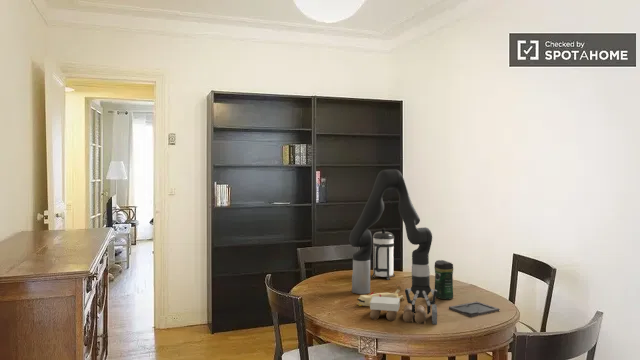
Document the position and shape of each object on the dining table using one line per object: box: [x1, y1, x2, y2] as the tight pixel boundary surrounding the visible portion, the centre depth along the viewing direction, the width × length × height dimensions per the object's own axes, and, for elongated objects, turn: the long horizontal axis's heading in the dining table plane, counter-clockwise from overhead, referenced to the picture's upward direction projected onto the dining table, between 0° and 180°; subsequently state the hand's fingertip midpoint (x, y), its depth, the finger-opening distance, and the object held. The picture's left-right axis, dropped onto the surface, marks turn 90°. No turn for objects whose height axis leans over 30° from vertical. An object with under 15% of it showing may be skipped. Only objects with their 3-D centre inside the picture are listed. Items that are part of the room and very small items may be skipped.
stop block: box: [431, 303, 438, 325], centre depth 191 cm, size 2×12×5 cm, turn 166°
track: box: [369, 304, 427, 325], centre depth 195 cm, size 23×12×4 cm, turn 76°
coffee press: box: [371, 227, 396, 281], centre depth 268 cm, size 17×16×30 cm
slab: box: [369, 296, 401, 312], centre depth 196 cm, size 12×10×3 cm
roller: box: [414, 304, 426, 324], centre depth 193 cm, size 4×12×4 cm, turn 165°
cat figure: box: [356, 284, 404, 307], centre depth 216 cm, size 10×9×25 cm
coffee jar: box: [433, 259, 454, 300], centre depth 226 cm, size 10×8×19 cm
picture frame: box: [448, 300, 501, 318], centre depth 205 cm, size 13×2×18 cm
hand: (421, 313), depth 193 cm, fingers open, 5 cm apart
